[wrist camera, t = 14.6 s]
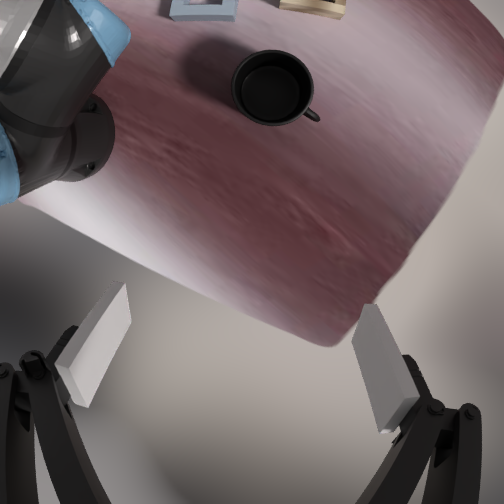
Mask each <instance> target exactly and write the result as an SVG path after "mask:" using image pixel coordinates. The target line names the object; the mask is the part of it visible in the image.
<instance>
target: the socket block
mask: <svg viewBox="0 0 504 504" xmlns="http://www.w3.org/2000/svg"><path fill="white" fill-rule="evenodd" d="M189 3H190V0H172V4H171V9H170V15H169V16H170V17H171V18H172V19H173V20H174V21H233V22H235V19H236V12H237V6H238V0H223V2H222V5H189Z"/></svg>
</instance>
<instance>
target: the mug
mask: <svg viewBox="0 0 504 504" xmlns="http://www.w3.org/2000/svg"><path fill="white" fill-rule="evenodd" d="M231 92H232V97H233V100H234V102H235V104H236V106H237V107H238V109H239V110H240V111H241V113H242V114H244V115H245V116H246V117H247V118H249V119H250V120H252V121H254V122H256V123H259V124H262V125H267V126H280V125H285V124H288V123H291V122H293V121H295V120H296V119H298V118H299V117H300V116H302V115H304V116H306V117H308V118H309V119H311V120H313V121H315V122H319V121H320V117H319V116H318V115H317V114H316V113H315V112H313V111H312V110H311V109H310V108H309V105H310V103H311V101H312V98H313V93H314V85H313V79H312V76H311V74H310V72H309V70H308V68H307V67H306V66H305V64H304V63H303V62H302V61H301V60H299V59H298V58H297V57H295V56H293V55H292V54H289V53H287V52H284V51H280V50H263V51H259V52H256V53H254V54H252V55H250V56H248V57H247V58H245V59H244V60H243V61H242V62H241V63H240V64H239V66H238V67H237V68H236V70H235V72H234V75H233V77H232V82H231Z"/></svg>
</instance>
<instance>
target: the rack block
mask: <svg viewBox="0 0 504 504" xmlns="http://www.w3.org/2000/svg"><path fill="white" fill-rule="evenodd" d="M345 6H346V0H332V1H331V2H326V1H321V0H280V5H279V9H284V10H291V11H297V12H303V13H309V14H314V15H319V16H324V17H329V18H333V19H337V20H340V19H341V18H342V17H343V16H344V15H345Z"/></svg>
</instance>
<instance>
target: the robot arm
mask: <svg viewBox="0 0 504 504" xmlns="http://www.w3.org/2000/svg"><path fill="white" fill-rule="evenodd" d="M130 38H131V32H130V29H129V28H128V26H127V25H126V24H125V23H124V22H123V21H122V20H121V19H120V18H119V17H117V16H116V15H115V14H114V13H113V12H112V11H111V10H109V9H108V8H107V7H106V6H105V5H103V4H102V3H101V2H100V1H98V0H0V206H1V205H4V204H7V203H12V202H14V201H15V200H16V199H17V198H19V197H21V196H23V195H25V194H27V193H29V192H31V191H33V190H35V189H37V188H39V187H41V186H44V185H46V184H48V183H50V182H52V181H54V180H58V181H67V182H76V181H81V180H83V179H86V178H88V177H90V176H92V175H94V174H95V173H97V172H98V171H99V170H100V169H101V168H102V167H103V166H104V165H105V163H106V162H107V160H108V158H109V156H110V154H111V152H112V149H113V145H114V139H115V126H114V120H113V117H112V114H111V111H110V109H109V108H108V106H107V105H106V103H105V102H104V101H103V100H102V99H101V98H100V97H98V96H96V95H94V94H92V92H93V91H94V89H95V88H96V87H97V85H98V84H99V82H100V81H101V79H102V78H103V77H104V75H105V74H106V73H107V71H108V70H109V69H110V67H111V68H113V66H114V65H115V61H116V60H117V58H118V57H119V55H120V54H121V53H122V51H123V50H124V49H125V47H126V46H127V45H128V43H129V41H130ZM131 322H132V321H131V316H130V311H129V304H128V298H127V291H126V285H125V283H123V282H117V281H113V282H112V283H111V284H110V286H109V287H108V288H107V290H106V291H105V292H104V294H103V295H102V296H101V298H100V299H99V300H98V302H97V303H96V304H95V306H94V307H93V309H92V310H91V311H90V312H89V314H88V315H87V317H86V318H85V319H84V321H83V322H82V324H81V325H80V326H79V327H78V326H74V325H73V326H71V327H70V328H68V329H67V330H66V331H65V332H64V333H63V335H62V336H61V337H60V339H59V340H58V342H57V343H56V345H55V346H54V347H53V349H52V350H51V352H50V353H49V355H48V356H47V357H46V359H45V357H44V355H43V353H41V352H40V351H36V350H33V351H29V352H26V353H25V354H24V355H22V357H21V359H20V360H19V365H20V367H21V369H22V371H15V370H14V368H13V366H12V365H11V364H9V363H6V362H5V363H0V504H39V502H38V493H37V483H36V470H35V452H34V451H35V449H34V423H35V427H36V431H37V435H38V439H39V443H40V446H41V450H42V453H43V457H44V460H45V463H46V466H47V469H48V472H49V475H50V478H51V481H52V483H53V486H54V489H55V491H56V494H57V496H58V499H59V501H60V504H111V502H110V500H109V498H108V496H107V494H106V493H105V491H104V489H103V487H102V485H101V483H100V481H99V479H98V476H97V474H96V472H95V470H94V468H93V466H92V464H91V461H90V459H89V457H88V454H87V452H86V449H85V447H84V445H83V442H82V439H81V437H80V434H79V432H78V429H77V426H76V423H75V421H74V418H73V415H72V412H71V409H70V406H69V404H68V400H69V398H70V396H71V398H72V400H73V402H74V403H75V404H78V405H81V406H84V407H87V408H88V407H89V405H90V403H91V401H92V398H93V396H94V394H95V392H96V390H97V388H98V386H99V384H100V382H101V380H102V378H103V376H104V374H105V372H106V370H107V368H108V366H109V364H110V362H111V360H112V358H113V356H114V354H115V352H116V350H117V348H118V346H119V344H120V343H121V341H122V339H123V337H124V335H125V333H126V331H127V329H128V328H129V326H130V324H131ZM352 344H353V347H354V350H355V354H356V356H357V360H358V363H359V366H360V369H361V372H362V376H363V379H364V382H365V386H366V389H367V392H368V395H369V399H370V402H371V406H372V409H373V413H374V416H375V420H376V424H377V428H378V431H379V434H382V433H390V432H394V431H395V429H396V428H397V427H398V426H400V430H401V432H400V433H399V435H398V436H397V437H396V438H395V439H394V440H393V442H392V443H393V445H392V447H391V449H390V451H389V452H388V454H387V456H386V457H385V459H384V461H383V463H382V464H381V466H380V468H379V469H378V471H377V472H376V474H375V475H374V477H373V478H372V480H371V482H370V483H369V485H368V486H367V488H366V489H365V490H364V492H363V493H362V495H361V496H360V498H359V499H358V500H357V502H356V503H355V504H407V503H408V501H409V499H410V497H411V495H412V494H413V492H414V490H415V488H416V486H417V484H418V482H419V480H420V478H421V476H422V474H423V471H424V469H425V467H426V465H427V463H428V460H429V458H430V464H429V470H428V475H427V481H426V486H425V491H424V495H423V499H422V504H478V500H479V490H480V479H481V460H482V424H481V413H480V410H479V409H478V408H477V407H476V406H475V405H473V404H471V403H466V404H463V405H462V406H461V408H460V409H459V410H457V409H449V408H445V406H444V404H443V403H442V402H441V401H439V400H437V399H434V398H433V397H432V395H431V393H430V391H429V389H428V386H427V384H426V382H425V380H424V378H423V377H422V373H421V371H419V367H418V365H417V363H416V361H415V360H414V359H413V358H412V357H411V356H410V355H401V352H400V350H399V348H398V346H397V344H396V342H395V340H394V338H393V336H392V334H391V332H390V330H389V328H388V326H387V324H386V322H385V320H384V318H383V316H382V314H381V312H380V310H379V308H378V306H377V304H364V307H363V310H362V313H361V316H360V319H359V322H358V325H357V327H356V330H355V333H354V336H353V339H352ZM430 456H431V457H430Z"/></svg>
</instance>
